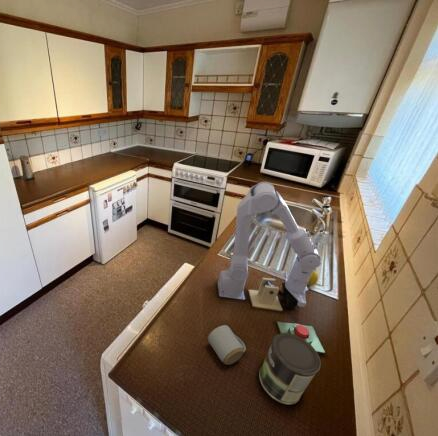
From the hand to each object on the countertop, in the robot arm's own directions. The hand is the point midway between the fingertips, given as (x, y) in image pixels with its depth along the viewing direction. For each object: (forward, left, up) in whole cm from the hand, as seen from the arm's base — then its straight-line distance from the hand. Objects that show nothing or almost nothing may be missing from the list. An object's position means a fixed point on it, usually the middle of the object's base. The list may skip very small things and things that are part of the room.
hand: (287, 304), depth 88 cm
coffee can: (-11, -29, 0) cm, 31 cm away
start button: (-1, -14, +3) cm, 14 cm away
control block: (-1, -14, 0) cm, 14 cm away
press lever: (-5, 0, +4) cm, 6 cm away
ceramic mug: (-24, -22, 0) cm, 33 cm away
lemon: (+11, +12, 0) cm, 16 cm away
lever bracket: (-8, 0, 0) cm, 8 cm away
